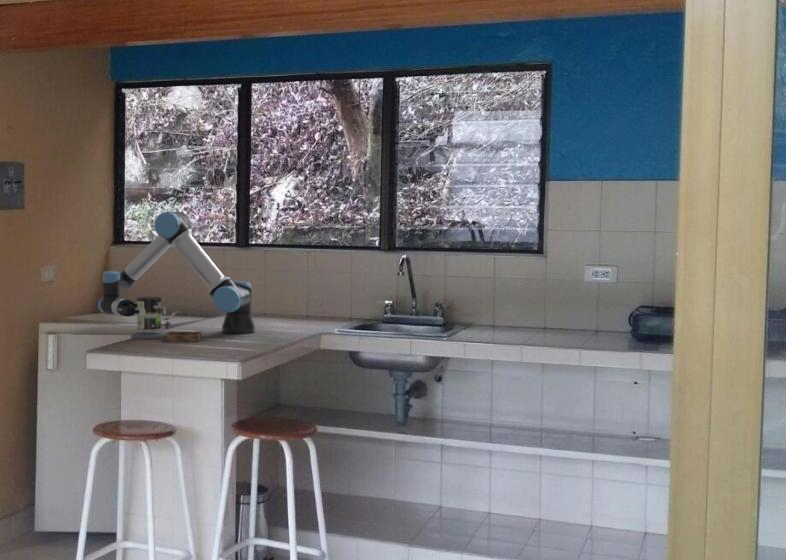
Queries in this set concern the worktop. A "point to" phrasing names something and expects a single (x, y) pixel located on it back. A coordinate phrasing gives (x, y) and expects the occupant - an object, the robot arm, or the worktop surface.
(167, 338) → the walnut collar
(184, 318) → the worktop surface
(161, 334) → the slate board
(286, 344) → the worktop surface
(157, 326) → the coffee can
